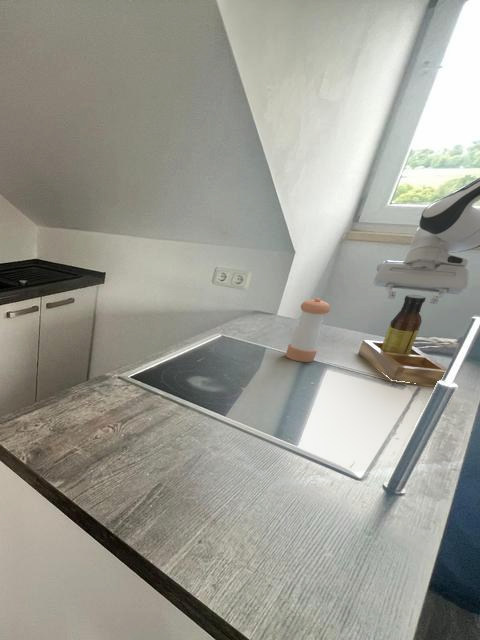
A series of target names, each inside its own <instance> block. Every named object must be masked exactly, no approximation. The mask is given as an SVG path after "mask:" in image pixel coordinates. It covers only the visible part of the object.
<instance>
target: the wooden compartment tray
mask: <svg viewBox="0 0 480 640" xmlns="http://www.w3.org/2000/svg"><path fill="white" fill-rule="evenodd" d="M383 342H384V341H380V340H379V341H378V340H371V339H370V340H369V339H363V340H362V343H361V346H360V347H359V351H358V355H360V356H361V357H362V358H363V359H364V360H366V362H368V363H369V364H370V365H371V366H372V367H374V368H375V369H376V370H377V371H378V372H379V373H380V374H381V375H383V376H384V377H385V378H386V379H387V381H389V382H390V383H397V384H403V385H405V384H406V385H413V386H423V387H431V388H436V387H435V385H436V383H437V381H439V380H441V379H442V377H443V375H444V373H445V371H446V370H447V368H448V367H446V366H444V365H443V364H441V363H440V362H439V361H437V360H435V359H434V358H432V357H431V356H429V355H428V354H427V353H425V352H423V351H421V350H420V349H419V348H417V347H415V346H414V345H413V346H412V349H411V351H410V354H400V353H389V352H384V351H382V350H381V347H382V344H383ZM378 369H379V370H378ZM382 372H383V373H384V374H385V375H387V376H388V377H389V378H390V379H392V380H397V381H405V382H410V383H405V382H396V381H391V380H390V379H389V378H388V377H386V376H385V375H384V374H383V373H382ZM414 383H416V384H414Z"/></svg>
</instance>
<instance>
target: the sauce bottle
mask: <svg viewBox="0 0 480 640" xmlns="http://www.w3.org/2000/svg"><path fill="white" fill-rule="evenodd" d="M426 299H427V297H426V296H425V295H422V294H421V295H420V294H406V295H405V297H404V302H403V304H402V307H401V309H400V310H399V311H398V313H397V314H396V316H394V317H393V319H392V320H391V321H390V322H389V324H388V325H389V326H388V329H387V330H386V334H385V336H384V339H383V341H382V342H383V344H382V347H381V350H382V351H384V352H389V353H400V354H410V351H411V349H412V346H414V344H415V341H416V338H417V337H418V333H419V332H420V327H421V324H422V322H423V321H422V316H421V313H420V312H421V309H422V307H423V304H424V303H425V302H426Z"/></svg>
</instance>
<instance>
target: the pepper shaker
mask: <svg viewBox="0 0 480 640" xmlns="http://www.w3.org/2000/svg"><path fill="white" fill-rule="evenodd" d="M300 311H302V312H301V315H300V318H299V321H298V324H297V325H296V328H295V330H294V332H293V333H292V337H291V340H290V343H289V344H288V346H287V349H286V352H285V357H287V358H288V359H290V360H292V361H297V362H300V363H301V362H302V363H312V362H314V360H315V358H316V356H317V355H316V354H317V351H318V348H317V347H318V344H319V342H320V337H321V328H322V325H323V321H324V319H325V315H326V314H328V313H329V312H330V311H331V305H330V303H328V302H326V301H323V300H322V299H321V298H319V297H316V298H314V299H308V300H305V301H302V303H301V305H300Z"/></svg>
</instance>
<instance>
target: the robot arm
mask: <svg viewBox="0 0 480 640" xmlns="http://www.w3.org/2000/svg"><path fill="white" fill-rule="evenodd" d="M479 201H480V176H479V177H477V178H476V179H474V180H472V181H471V182H469V183H468V184H466V185H464V186H462V187H461V188H459V189H457V190H456V191H454V192H452V193H450V194H448V195H445V196H444V197H442V198H440V199H437V200H436V201H434V202H431V204H429V205H428V206H426V207H425V208H424V209H423V210H422V212H421V215H420V217H419V222H418V223H419V224H418V225H419V226H418V228H417V229H416V230H415V232H414V234H413V236H412V239H411V242H410V244H409V245H410V247H409V248H410V250H409V251H408V252H407V254H406V257H405V260H404V261H399V260H397V261H396V260H395V261H394V260H385V261H381V262H379V263H378V264H377V266H376V271H377V272H376V274H375V277H374V279H373V282H372V284H373V285H374V287H378V288H385V291H386V293H387V294H388V296H387V299H390V300H394V299H395V298H396V295H397V291H394V290H393V289H397V290H408V291H419V292H420V291H421V292H429V293H437V295H432V297H431V298H430V302H429V304H432V305H433V304H434V305H437V304H438V303H439V301H440V299H442V298H444V297H445V296H446V294H447V295H462V294H463V293H464V292H465V291H466V290H467V287H468V285H469V280H470V271H469V269H468V268H467V266H468V263H469V260H468V259H467V258H464V257H460V256H456V255H453V254H456V253H461V252H466V251H470V250H475V249H478V248H480V210H479V209H477V208H476V207H474V204H475V203H477V202H479Z"/></svg>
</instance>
